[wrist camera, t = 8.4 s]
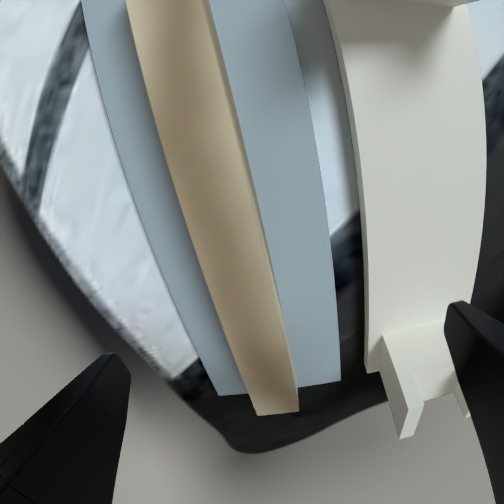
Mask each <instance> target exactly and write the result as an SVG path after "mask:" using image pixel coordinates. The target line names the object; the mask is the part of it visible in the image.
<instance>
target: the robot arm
mask: <svg viewBox="0 0 504 504" xmlns="http://www.w3.org/2000/svg"><path fill="white" fill-rule="evenodd" d="M444 336H445V339H446V342H447V345H448V348H449V352H450V355H451V358H452V362H453V365H454V369H455V372H456V376H457V379H458V383H459V385H460V388H461V391H462V393H463V396H464V399H465V401H466V404H467V407H468V409H469V412H470V415H471V418H472V421H473V424H474V427H475V430H476V432H477V436H478V439H479V442H480V445H481V449H482V451H483V455H484V459H485V462H486V466H487V469H488V473H489V477H490V481H491V485H492V489H493V493H494V498H495V502H496V504H504V324H503V323H501V322H500V321H498V320H496V319H495V318H493V317H491V316H490V315H488V314H486V313H485V312H483V311H481V310H479V309H478V308H476V307H474V306H472V305H471V304H469V303H467V302H465V301H463V300H460V301H456V302H452V303H450V304H449V305H448V307H447V312H446V317H445V322H444ZM130 384H131V374H130V371H129V370H128V368H127V367H126V365H125V364H124V362H123V361H122V359H121V357H120V356H119V355H118V354H117V353H104V354H102V355H101V356H100V357H99V358H98V359H96V360H95V361H94V362H93V363H92V364H91V365H90V366H88V367H87V368H86V369H85V370H84V371H83V372H81V373H80V374H79V375H78V376H77V377H76V378H75V379H74V380H72V381H71V382H70V383H69V384H68V385H67V386H65V387H64V388H63V389H62V390H61V391H60V392H59V393H57V394H56V395H55V396H54V397H53V398H52V399H51V400H49V401H48V402H47V403H46V404H45V405H44V406H43V407H42V408H40V409H39V410H38V411H37V412H36V413H35V414H34V415H33V416H31V417H30V418H29V419H28V420H27V421H26V422H25V423H24V425H21V426H20V427H19V428H18V429H17V430H16V431H15V432H13V433H12V434H11V435H10V436H9V437H8V438H6V439H5V440H4V441H3V442H2V443H0V504H112V500H113V493H114V486H115V480H116V474H117V469H118V463H119V457H120V452H121V447H122V441H123V436H124V431H125V426H126V419H127V410H128V400H129V392H130Z"/></svg>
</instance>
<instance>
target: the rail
mask: <svg viewBox="0 0 504 504" xmlns="http://www.w3.org/2000/svg"><path fill="white" fill-rule="evenodd" d="M125 1H126V5H127V10H128V14H129V19H130V23H131V28H132V32H133V36H134V41H135V45H136V49H137V53H138V57H139V61H140V65H141V69H142V73H143V77H144V81H145V85H146V88H147V92H148V96H149V100H150V103H151V107H152V111H153V114H154V118H155V122H156V125H157V129H158V132H159V136H160V139H161V143H162V146H163V150H164V153H165V156H166V160H167V163H168V166H169V170H170V173H171V176H172V180H173V183H174V186H175V189H176V192H177V196H178V199H179V202H180V205H181V208H182V211H183V214H184V218H185V221H186V224H187V227H188V230H189V233H190V236H191V239H192V242H193V245H194V248H195V251H196V254H197V257H198V260H199V263H200V265H201V268H202V271H203V274H204V277H205V280H206V283H207V285H208V288H209V291H210V294H211V297H212V299H213V302H214V305H215V308H216V310H217V313H218V316H219V319H220V321H221V324H222V327H223V329H224V332H225V335H226V337H227V340H228V343H229V345H230V348H231V350H232V353H233V356H234V358H235V361H236V363H237V366H238V368H239V371H240V374H241V376H242V379H243V381H244V384H245V386H246V389H247V391H248V394H249V396H250V398H251V401H252V403H253V406H254V408H255V411H256V413H257V415H258V416H261V415H271V414H280V413H289V412H297V411H299V404H298V390H297V379H296V374H295V369H294V364H293V360H292V355H291V350H290V345H289V341H288V336H287V331H286V326H285V322H284V317H283V312H282V308H281V303H280V298H279V294H278V289H277V285H276V280H275V276H274V271H273V266H272V262H271V257H270V253H269V248H268V244H267V239H266V235H265V231H264V226H263V222H262V217H261V213H260V209H259V204H258V200H257V195H256V191H255V187H254V182H253V178H252V174H251V170H250V165H249V161H248V157H247V153H246V148H245V144H244V140H243V136H242V131H241V127H240V123H239V119H238V115H237V111H236V107H235V102H234V98H233V94H232V90H231V86H230V82H229V78H228V74H227V70H226V66H225V62H224V58H223V54H222V50H221V46H220V42H219V38H218V34H217V30H216V26H215V22H214V18H213V14H212V11H211V7H210V3H209V0H125Z"/></svg>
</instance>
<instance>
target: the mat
mask: <svg viewBox="0 0 504 504" xmlns="http://www.w3.org/2000/svg"><path fill="white" fill-rule="evenodd" d="M81 2H82V8H83V14H84V19H85V24H86V29H87V34H88V39H89V44H90V48H91V53H92V57H93V61H94V66H95V70H96V74H97V78H98V82H99V86H100V90H101V94H102V97H103V101H104V105H105V108H106V112H107V116H108V119H109V123H110V126H111V129H112V133H113V136H114V139H115V143H116V146H117V149H118V152H119V156H120V159H121V162H122V165H123V168H124V171H125V174H126V177H127V180H128V183H129V186H130V189H131V192H132V195H133V198H134V201H135V203H136V206H137V209H138V212H139V214H140V217H141V220H142V223H143V225H144V228H145V231H146V233H147V236H148V239H149V241H150V244H151V246H152V249H153V251H154V254H155V257H156V259H157V262H158V264H159V267H160V269H161V271H162V274H163V276H164V279H165V281H166V284H167V286H168V288H169V291H170V293H171V295H172V298H173V300H174V302H175V305H176V307H177V309H178V311H179V314H180V316H181V318H182V320H183V323H184V325H185V327H186V329H187V331H188V334H189V336H190V338H191V340H192V342H193V344H194V346H195V349H196V351H197V353H198V355H199V357H200V359H201V361H202V363H203V365H204V367H205V369H206V371H207V373H208V375H209V377H210V379H211V381H212V383H213V385H214V387H215V389H216V391H217V393H218V395H219V396H221V395H235V394H246V393H248V391H247V389H246V386H245V384H244V381H243V379H242V376H241V374H240V371H239V368H238V366H237V363H236V361H235V358H234V356H233V353H232V350H231V348H230V345H229V343H228V340H227V337H226V335H225V332H224V329H223V327H222V324H221V321H220V319H219V316H218V313H217V310H216V308H215V305H214V302H213V299H212V297H211V294H210V291H209V288H208V285H207V283H206V280H205V277H204V274H203V271H202V268H201V265H200V263H199V260H198V257H197V254H196V251H195V248H194V245H193V242H192V239H191V236H190V233H189V230H188V227H187V224H186V221H185V218H184V214H183V211H182V208H181V205H180V202H179V199H178V196H177V192H176V189H175V186H174V183H173V180H172V176H171V173H170V170H169V166H168V163H167V160H166V156H165V153H164V150H163V146H162V143H161V139H160V136H159V132H158V129H157V125H156V122H155V118H154V114H153V111H152V107H151V103H150V100H149V96H148V92H147V88H146V85H145V81H144V77H143V73H142V69H141V65H140V61H139V57H138V53H137V49H136V45H135V41H134V36H133V32H132V28H131V23H130V19H129V14H128V10H127V5H126V1H125V0H81ZM209 3H210V7H211V11H212V14H213V18H214V22H215V26H216V30H217V34H218V38H219V42H220V46H221V50H222V54H223V58H224V62H225V66H226V70H227V74H228V78H229V82H230V86H231V90H232V94H233V98H234V102H235V107H236V111H237V115H238V119H239V123H240V127H241V131H242V136H243V140H244V144H245V148H246V153H247V157H248V161H249V165H250V170H251V174H252V178H253V182H254V187H255V191H256V195H257V200H258V204H259V209H260V213H261V217H262V222H263V226H264V231H265V235H266V239H267V244H268V248H269V253H270V257H271V262H272V266H273V271H274V276H275V280H276V285H277V289H278V294H279V298H280V303H281V308H282V312H283V317H284V322H285V326H286V331H287V336H288V341H289V345H290V350H291V355H292V360H293V364H294V369H295V374H296V379H297V388H298V387H305V386H311V385H318V384H324V383H329V382H335V381H341V371H340V351H339V334H338V319H337V306H336V294H335V283H334V273H333V263H332V254H331V245H330V236H329V228H328V220H327V213H326V205H325V198H324V191H323V184H322V178H321V171H320V165H319V159H318V153H317V147H316V141H315V136H314V130H313V125H312V119H311V114H310V109H309V104H308V99H307V94H306V89H305V85H304V80H303V75H302V71H301V66H300V62H299V58H298V53H297V49H296V45H295V41H294V37H293V33H292V29H291V25H290V21H289V17H288V13H287V10H286V6H285V2H284V0H209Z"/></svg>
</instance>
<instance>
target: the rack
mask: <svg viewBox="0 0 504 504" xmlns="http://www.w3.org/2000/svg"><path fill="white" fill-rule="evenodd" d="M474 1H478V0H323V2H324V6H325V9H326V13H327V17H328V21H329V25H330V29H331V33H332V37H333V41H334V45H335V50H336V54H337V59H338V63H339V68H340V73H341V78H342V83H343V88H344V94H345V99H346V105H347V111H348V117H349V123H350V130H351V136H352V143H353V151H354V158H355V167H356V175H357V184H358V194H359V205H360V216H361V230H362V245H363V265H364V298H365V342H364V364H365V368H366V371H367V374H368V373H373V372H377V371H380V374H381V377H382V381H383V384H384V387H385V391H386V394H387V398H388V401H389V404H390V408H391V411H392V415H393V419H394V423H395V426H396V430H397V434H398V438H399V439H403V438H407V437H410V436H413V435H414V432H415V429H416V427H417V424H418V422H419V418H420V416H421V413H422V410H423V407H424V401H427V400H430V399H433V398H436V397H440V396H443V395H446V394H449V393H452V392H454V394H455V396H456V398H457V401H458V403H459V406H460V408H461V411H462V413H463V416H464V418H467V417H469V416H471V415H470V412H469V409H468V407H467V404H466V401H465V399H464V396H463V393H462V391H461V388H460V385H459V383H458V379H457V376H456V372H455V369H454V365H453V362H452V358H451V355H450V352H449V348H448V345H447V342H446V339H445V336H444V322H445V317H446V312H447V307H448V305H449V304H450V303H452V302H456V301H460V300H463V301H465V302H467V303H469V304H470V300H471V296H472V291H473V286H474V281H475V275H476V270H477V264H478V257H479V251H480V243H481V235H482V227H483V217H484V204H485V188H486V127H485V110H484V99H483V89H482V80H481V73H480V66H479V60H478V54H477V48H476V43H475V38H474V33H473V28H472V24H471V20H470V16H469V12H468V8H467V3H471V2H474Z"/></svg>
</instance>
